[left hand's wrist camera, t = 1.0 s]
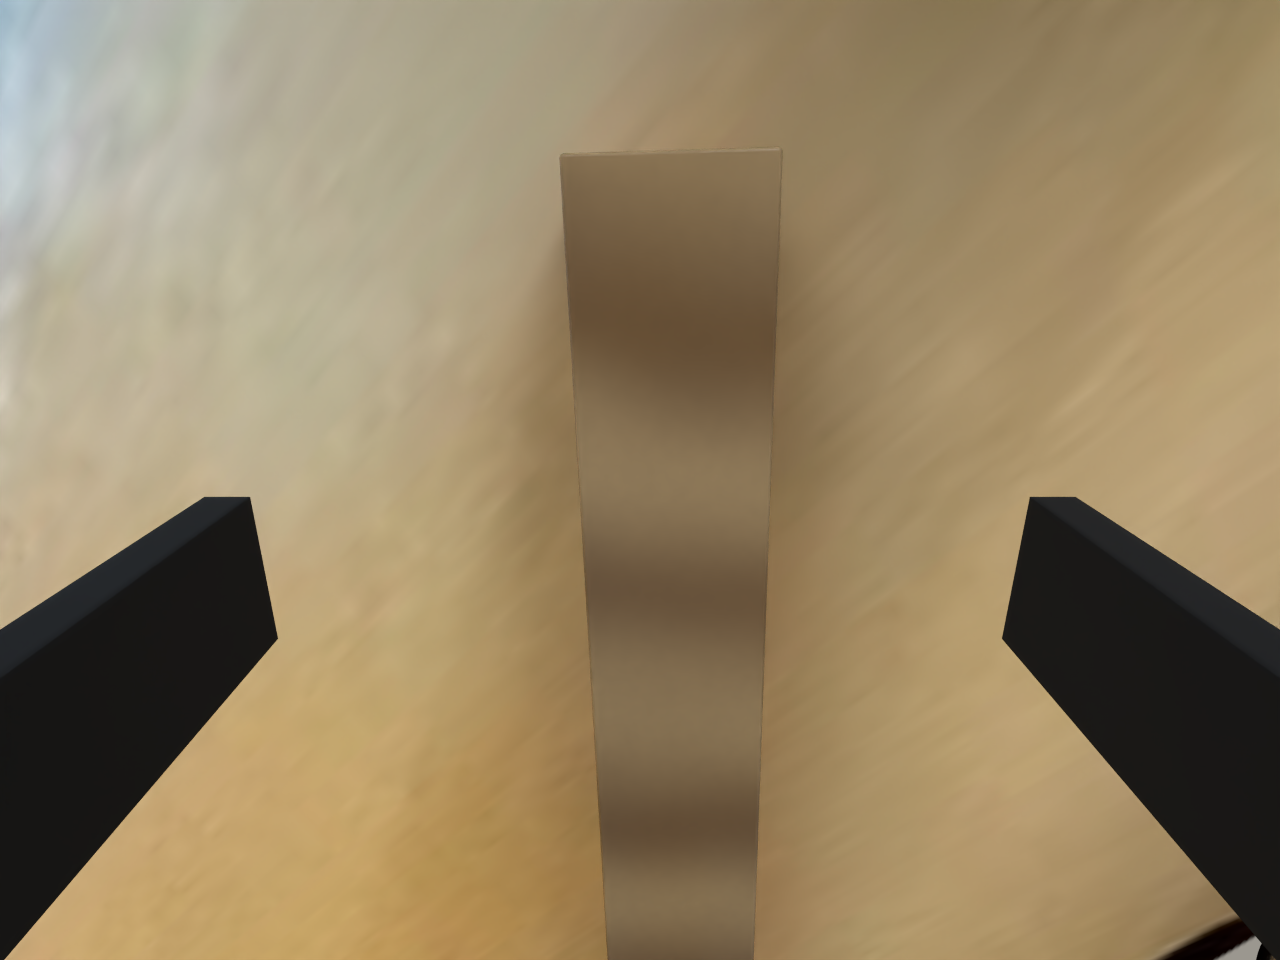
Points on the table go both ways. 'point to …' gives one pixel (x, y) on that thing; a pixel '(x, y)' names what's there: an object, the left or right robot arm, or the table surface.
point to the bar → (675, 526)
